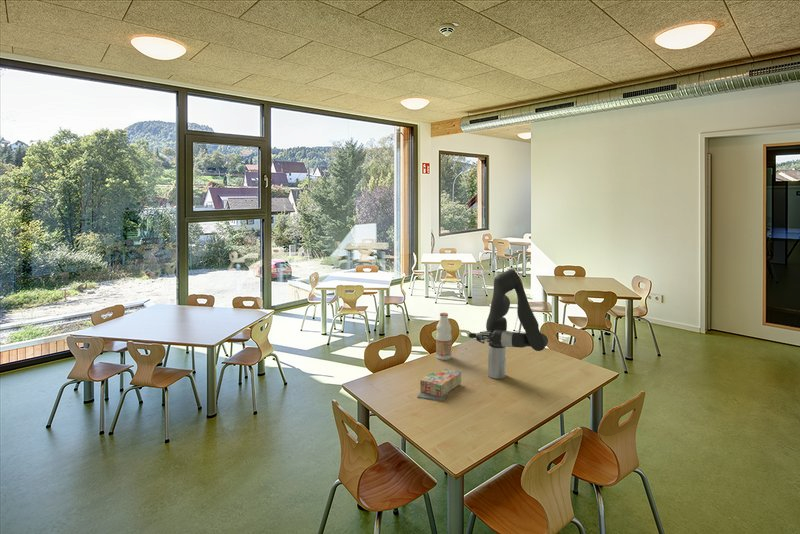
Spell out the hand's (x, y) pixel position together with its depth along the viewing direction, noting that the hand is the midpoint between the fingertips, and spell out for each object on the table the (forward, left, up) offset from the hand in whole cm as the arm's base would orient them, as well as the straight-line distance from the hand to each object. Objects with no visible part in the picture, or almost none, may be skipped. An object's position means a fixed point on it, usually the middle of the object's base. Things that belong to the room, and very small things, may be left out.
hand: (469, 335), depth 229 cm
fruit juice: (+25, -47, -30) cm, 61 cm away
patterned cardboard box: (+8, +1, -26) cm, 28 cm away
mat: (+16, +2, -30) cm, 34 cm away
